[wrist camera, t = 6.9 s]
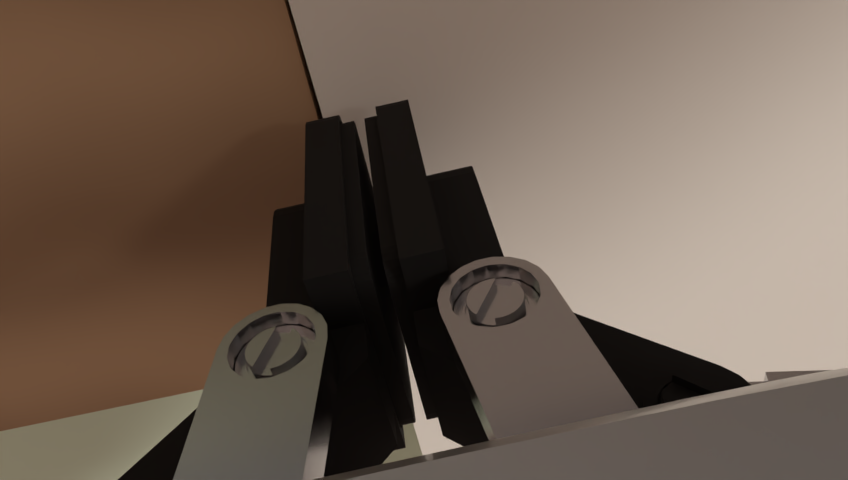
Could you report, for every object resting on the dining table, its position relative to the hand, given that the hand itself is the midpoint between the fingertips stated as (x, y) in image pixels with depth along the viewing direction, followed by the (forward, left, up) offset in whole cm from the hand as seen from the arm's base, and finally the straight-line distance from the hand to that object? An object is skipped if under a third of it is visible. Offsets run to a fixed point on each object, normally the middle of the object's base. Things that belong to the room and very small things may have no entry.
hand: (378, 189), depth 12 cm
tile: (0, -5, -3) cm, 6 cm away
